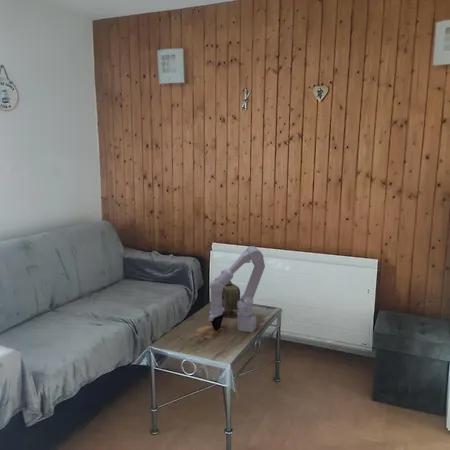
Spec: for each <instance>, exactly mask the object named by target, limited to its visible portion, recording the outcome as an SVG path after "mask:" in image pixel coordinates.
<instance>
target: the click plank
mask: <svg viewBox="0 0 450 450" xmlns="http://www.w3.org/2000/svg"><path fill="white" fill-rule="evenodd" d="M226 330H228V329H227V328H223V327H220V329H218V331H215V330H214V329H213V325H212V326H210V325H205V324H204V325H203V324H202V325H201V326H200V327H198V328H197V329H196V330H195V331H198V332H204V333H209V334H215V335H220V336H221V335H222V334H223V333H224V332H225V331H226Z"/></svg>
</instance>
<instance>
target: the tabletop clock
mask: <svg viewBox="0 0 450 450" xmlns="http://www.w3.org/2000/svg"><path fill="white" fill-rule="evenodd" d="M240 299H241V290H240V287H239V286H237V285H236V284H234V283H233V282H232V280H230V281H229V282H228V283H227V284H226V285H225V286H224V287H223V291H222V308H224V312H223V313H226V312H227V315H226V319H230V315H233V313H234V311H239V309H238V308H237V302H238V301H239V300H240Z"/></svg>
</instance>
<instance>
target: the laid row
mask: <svg viewBox="0 0 450 450" xmlns="http://www.w3.org/2000/svg"><path fill="white" fill-rule="evenodd" d="M190 336H195V337H201V338H206V339H212V340H216V339H218V338H219V337H221V335H216V334H210V333H205V332H199V331H196V330H195V331H193V332H192V333H191V334H190Z"/></svg>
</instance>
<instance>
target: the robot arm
mask: <svg viewBox="0 0 450 450" xmlns="http://www.w3.org/2000/svg"><path fill="white" fill-rule="evenodd" d="M264 256H265V255H264V254H263V253H262V252H261V250H260V249H258V248H257V247H256V246H254V245H250V246H248V247H247V248H246V249H245V250H244V251H243V252H242V253H241V255H240V256H238V258H237V259H236V260H235V261H234V262H233V263H232V265H230V267H229V268H227V269H224V270H221V271H220V274H219V275H218V276H217V277H215V278H214V280H212V281H211V282H210V284H209V288H210V310H209V312H208V314H209V316H208V321H210V323H211V325H212V327H213V329H214V330H215V331H218V329H220V328H222V327H221V326H222V322H223V319H224V318H225V314H223V313H225V312H224V308H222V291H223V287H224V286H225V285H226V284H227V283H228V282H229V281H232V279H233V278H234V274H235V273H236V272H237V271H239V269H240V268H241V267H242V266H243V265H244V264H250V263H252V264H253V269H252V271H251V274H250V277H249V280H248V282H247V285H246V288H245V291H244V293H243V294H242V295H241V296H240V300H239V301H238V302H237V308H238V310H237V311H238V312H237V313H236V314H237V319H236V321H237V323H236V324H237V331H240V332H246V333H248V332H249V333H253V332H254V331H256V329H257V316H256V315H255V314H254V315H253V314H252V313H253V305H254V297H255V295H256V292H257V289H258V286H259V284H260V281H261V278H262V276H263V273H264V270H265V268H266V265H265V259H264Z"/></svg>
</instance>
